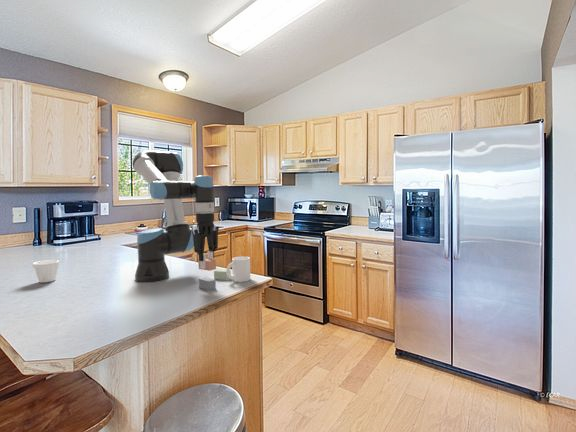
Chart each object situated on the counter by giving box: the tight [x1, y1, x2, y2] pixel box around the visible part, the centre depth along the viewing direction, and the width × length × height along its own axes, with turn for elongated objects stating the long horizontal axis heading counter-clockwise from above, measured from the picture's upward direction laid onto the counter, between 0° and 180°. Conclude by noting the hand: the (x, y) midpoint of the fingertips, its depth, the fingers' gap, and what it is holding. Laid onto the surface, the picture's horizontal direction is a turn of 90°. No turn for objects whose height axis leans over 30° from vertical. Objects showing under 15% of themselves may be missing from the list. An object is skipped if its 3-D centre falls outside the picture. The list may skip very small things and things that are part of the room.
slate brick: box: [198, 276, 217, 291], centre depth 137 cm, size 7×4×4 cm, turn 49°
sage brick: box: [213, 268, 232, 281], centre depth 151 cm, size 7×4×4 cm, turn 76°
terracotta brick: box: [197, 258, 217, 272], centre depth 136 cm, size 7×4×4 cm, turn 55°
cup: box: [32, 259, 60, 284], centre depth 149 cm, size 10×10×9 cm
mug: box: [225, 255, 251, 283], centre depth 147 cm, size 12×8×10 cm
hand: (206, 267), depth 136 cm, fingers closed on terracotta brick, 3 cm apart
